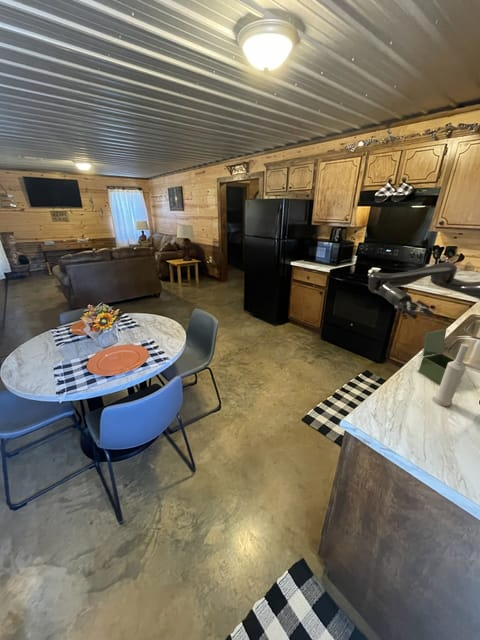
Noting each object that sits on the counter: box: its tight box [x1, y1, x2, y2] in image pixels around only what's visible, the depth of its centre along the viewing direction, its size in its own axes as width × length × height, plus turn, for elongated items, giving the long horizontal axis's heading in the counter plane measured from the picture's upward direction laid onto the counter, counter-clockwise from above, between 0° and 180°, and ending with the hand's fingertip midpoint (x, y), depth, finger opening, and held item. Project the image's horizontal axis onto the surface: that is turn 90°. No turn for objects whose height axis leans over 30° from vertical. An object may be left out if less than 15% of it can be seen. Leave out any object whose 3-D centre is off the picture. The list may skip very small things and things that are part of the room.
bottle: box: [434, 343, 470, 407], centre depth 95 cm, size 5×5×25 cm
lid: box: [422, 328, 447, 358], centre depth 115 cm, size 11×11×1 cm
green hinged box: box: [418, 353, 466, 386], centre depth 114 cm, size 10×11×8 cm
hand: (424, 316), depth 115 cm, fingers open, 8 cm apart
